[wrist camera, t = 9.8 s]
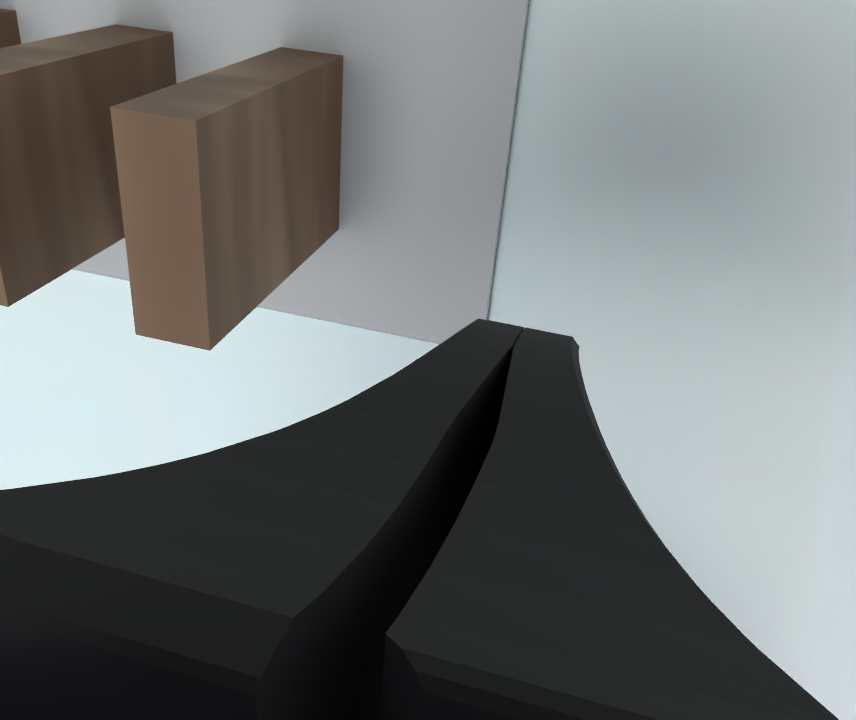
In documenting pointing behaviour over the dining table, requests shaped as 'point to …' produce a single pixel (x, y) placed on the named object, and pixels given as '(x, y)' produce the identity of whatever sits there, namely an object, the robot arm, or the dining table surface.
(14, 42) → the walnut tile
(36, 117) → the walnut tile
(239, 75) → the walnut tile
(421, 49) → the mat
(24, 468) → the dining table surface
